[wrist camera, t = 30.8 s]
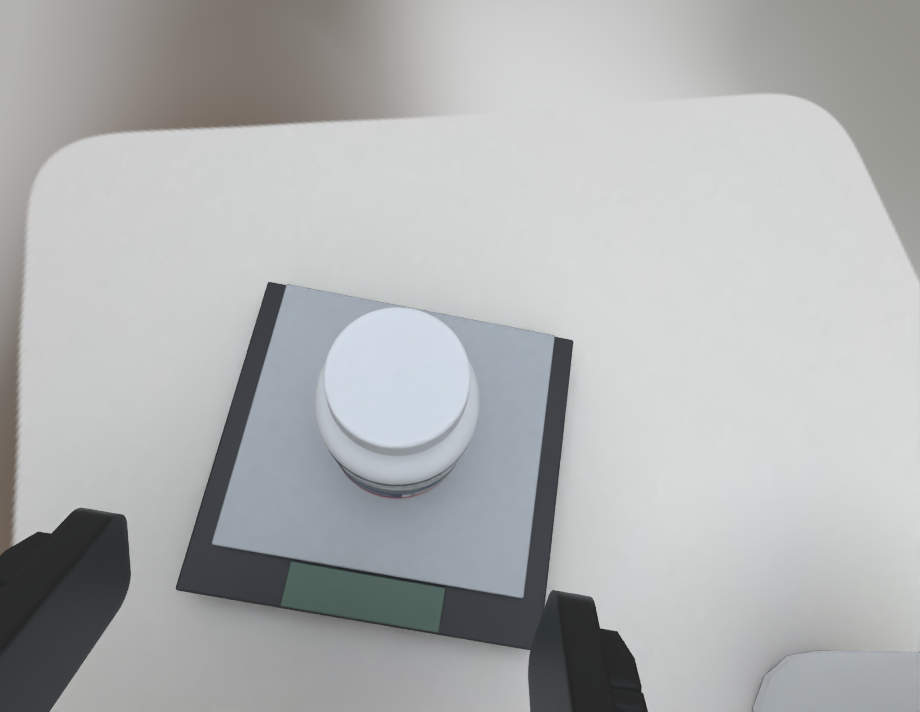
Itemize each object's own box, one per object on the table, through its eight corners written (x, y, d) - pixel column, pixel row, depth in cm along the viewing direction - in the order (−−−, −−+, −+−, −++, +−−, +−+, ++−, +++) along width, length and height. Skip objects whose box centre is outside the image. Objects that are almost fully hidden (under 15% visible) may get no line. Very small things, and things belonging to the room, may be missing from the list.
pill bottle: (351, 360, 25) (328, 263, 17) (472, 386, 25) (509, 303, 17) (317, 486, 23) (273, 448, 15) (448, 513, 24) (476, 490, 15)
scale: (194, 586, 25) (168, 591, 22) (277, 302, 29) (265, 274, 26) (527, 643, 25) (543, 654, 22) (560, 356, 29) (577, 335, 27)
